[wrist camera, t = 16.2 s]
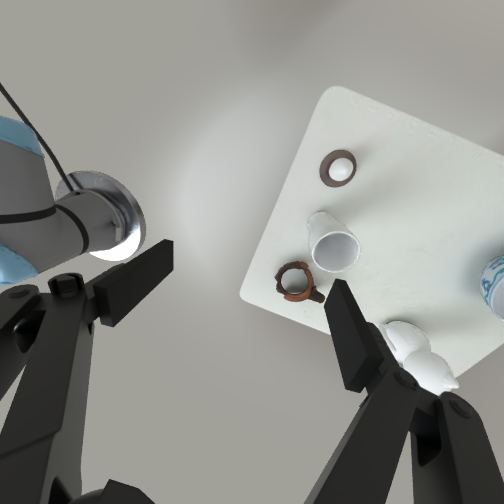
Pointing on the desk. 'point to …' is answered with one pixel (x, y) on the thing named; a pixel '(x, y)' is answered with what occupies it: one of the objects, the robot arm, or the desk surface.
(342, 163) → the egg
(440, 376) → the cat figurine
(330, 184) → the coaster
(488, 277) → the chinaware
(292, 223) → the desk surface
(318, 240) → the drinking glass
